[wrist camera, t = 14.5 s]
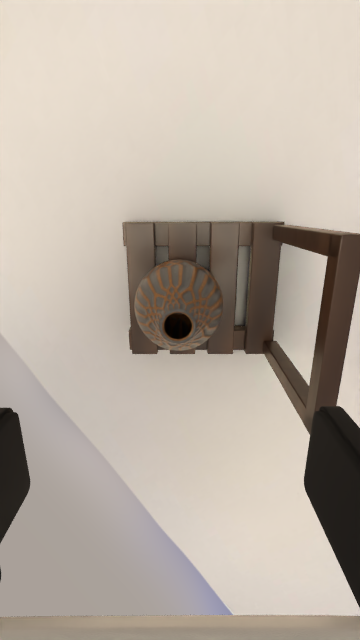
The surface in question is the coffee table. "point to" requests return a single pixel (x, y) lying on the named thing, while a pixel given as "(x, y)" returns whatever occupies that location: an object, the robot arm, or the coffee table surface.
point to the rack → (258, 295)
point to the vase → (178, 305)
